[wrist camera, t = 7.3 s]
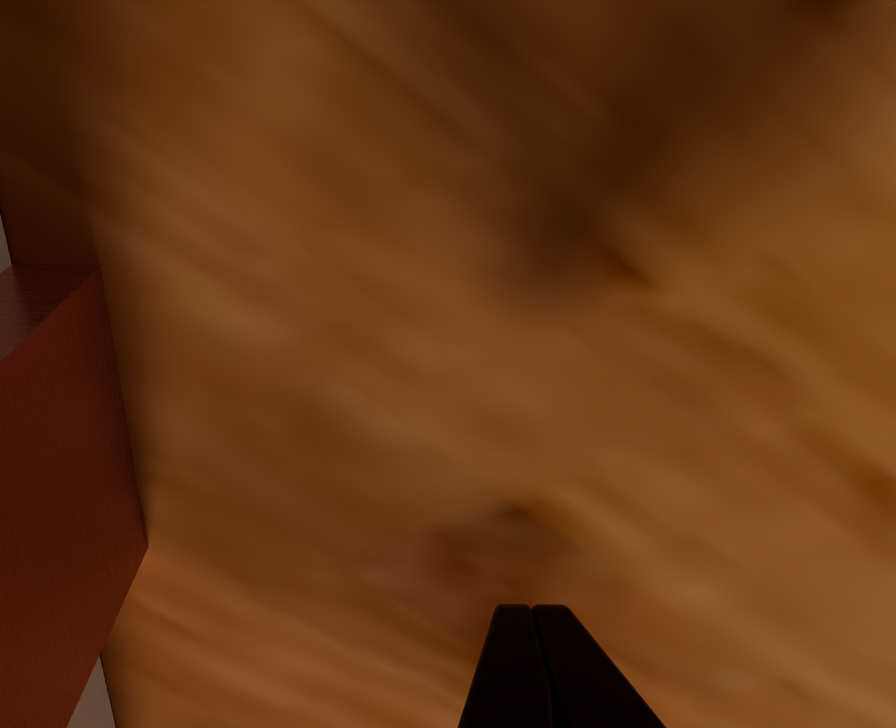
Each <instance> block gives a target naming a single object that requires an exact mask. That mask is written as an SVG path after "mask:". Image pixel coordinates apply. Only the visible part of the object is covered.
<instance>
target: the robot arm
mask: <svg viewBox="0 0 896 728" xmlns="http://www.w3.org/2000/svg"><path fill="white" fill-rule="evenodd" d="M458 728H666V727H665V725H664V724H663V723H662V722H661V720H660V719H659V718H658V717H657V715H656V714H655V713H654V712H653V711H652V709H651V708H650V707H649V706H648V704H647V703H646V702H645V701H644V700H643V698H642V697H641V696H640V695H639V693H638V692H637V691H636V690H635V688H634V687H633V686H632V685H631V684H630V682H629V681H628V680H627V679H626V677H625V676H624V675H623V674H622V673H621V671H620V670H619V669H618V668H617V666H616V665H615V664H614V663H613V661H612V660H611V659H610V658H609V657H608V655H607V654H606V653H605V652H604V650H603V649H602V648H601V647H600V645H599V644H598V643H597V642H596V641H595V639H594V638H593V637H592V636H591V634H590V633H589V632H588V631H587V630H586V628H585V627H584V626H583V625H582V623H581V622H580V621H579V620H578V618H577V617H576V616H575V615H574V614H573V612H572V611H571V610H570V609H569V608H568V607H567V606H565V605H555V604H537V605H535V606H533V607H532V609H531V608H530V606H528V605H526V604H499V605H498V606H497V607H496V608H495V611H494V614H493V617H492V620H491V624H490V627H489V630H488V633H487V636H486V639H485V643H484V646H483V649H482V652H481V655H480V658H479V662H478V665H477V668H476V671H475V674H474V677H473V681H472V684H471V687H470V690H469V693H468V697H467V700H466V703H465V706H464V709H463V712H462V716H461V719H460V722H459V725H458Z"/></svg>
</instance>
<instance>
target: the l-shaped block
mask: <svg viewBox="0 0 896 728" xmlns="http://www.w3.org/2000/svg"><path fill="white" fill-rule="evenodd" d="M147 549H148V544H147V539H146V533H145V527H144V521H143V515H142V509H141V503H140V497H139V491H138V485H137V479H136V473H135V468H134V462H133V456H132V450H131V444H130V438H129V432H128V426H127V420H126V414H125V408H124V403H123V397H122V391H121V385H120V379H119V373H118V367H117V361H116V355H115V349H114V343H113V337H112V332H111V326H110V320H109V314H108V308H107V302H106V296H105V290H104V284H103V278H102V272H101V267H100V266H95V265H61V264H27V263H14V264H12V265H11V266H10V267H8V268H7V269H6V270H4V271H3V272H2V273H0V728H67V726H68V724H69V721H70V719H71V717H72V715H73V713H74V710H75V708H76V706H77V704H78V701H79V699H80V697H81V695H82V693H83V690H84V688H85V686H86V684H87V682H88V679H89V677H90V675H91V673H92V671H93V668H94V666H95V664H96V662H97V659H98V657H99V655H100V653H101V651H102V648H103V646H104V644H105V642H106V640H107V637H108V635H109V633H110V631H111V629H112V626H113V624H114V622H115V620H116V618H117V615H118V613H119V611H120V609H121V606H122V604H123V602H124V600H125V598H126V595H127V593H128V591H129V589H130V587H131V584H132V582H133V580H134V578H135V576H136V573H137V571H138V569H139V567H140V565H141V562H142V560H143V558H144V556H145V553H146V551H147Z"/></svg>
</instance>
